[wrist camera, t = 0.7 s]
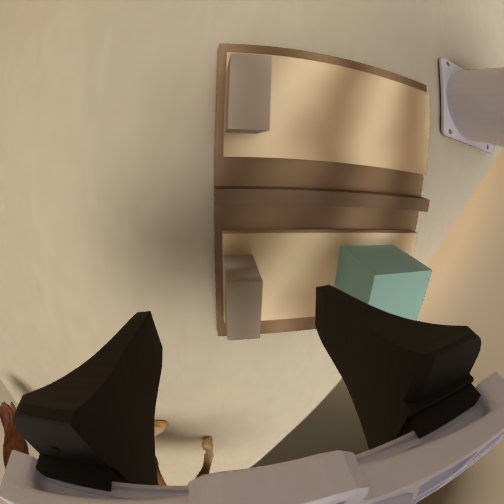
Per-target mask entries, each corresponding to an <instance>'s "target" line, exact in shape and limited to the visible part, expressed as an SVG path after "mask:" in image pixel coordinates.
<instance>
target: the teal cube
mask: <svg viewBox="0 0 504 504" xmlns="http://www.w3.org/2000/svg"><path fill="white" fill-rule="evenodd" d="M431 272H432V270H431V269H429V268H428V267H427V266H425V265H424V264H422V263H421V262H419V261H418V260H416V259H415V258H413V257H412V256H410V255H409V254H407V253H406V252H404V251H402V250H401V249H399V248H398V247H396V246H395V245H359V246H341V247H340V254H339V261H338V267H337V273H336V279H335V285H334V287H335V288H337V289H339V290H341V291H343V292H345V293H347V294H349V295H351V296H353V297H355V298H357V299H359V300H361V301H363V302H365V303H367V304H369V305H371V306H373V307H376V308H378V309H380V310H383V311H385V312H388V313H391V314H394V315H397V316H400V317H403V318H407V319H411V320H415V321H417V318H418V315H419V312H420V309H421V305H422V303H423V300H424V297H425V293H426V290H427V287H428V283H429V280H430V276H431Z"/></svg>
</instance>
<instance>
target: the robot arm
mask: <svg viewBox="0 0 504 504" xmlns="http://www.w3.org/2000/svg"><path fill="white" fill-rule="evenodd" d="M439 67H440V81H441V132H442V134H443V135H444V136H447V137H450V138H453V139H456V140H458V141H461V142H464V143H466V144H469V145H471V146H474V147H476V148H479V149H481V150H483V151H486V152H488V153H493V152H494V145H496V146H502V147H504V67H503V68H487V69H475V70H464V69H463V68H461V67H459V66H458V65H456V64H454V63H452V62H451V61H449V60H447V59H445V58H440V59H439ZM315 326H316V329H317V331H318V334H319V337H320V339H321V341H322V343H323V345H324V347H325V349H326V350H327V352H328V354H329V356H330V357H331V359H332V361H333V362H334V364H335V366H336V368H337V369H338V371H339V373H340V374H341V376H342V378H343V380H344V382H345V384H346V386H347V388H348V391H349V393H350V395H351V398H352V400H353V403H354V405H355V408H356V411H357V413H358V416H359V419H360V422H361V425H362V428H363V431H364V434H365V437H366V441H367V444H368V447H369V450H368V451H365V452H363V453H360V454H357V455H354V453H352V452H346V451H339V450H337V451H332V452H326V453H321V454H317V455H313V456H309V457H305V458H301V459H297V460H293V461H288V462H283V463H279V464H273V465H267V466H261V467H255V468H248V469H240V470H232V471H222V472H216V473H211V474H205V475H201V476H199V477H197V478H195V479H193V480H192V481H190V482H189V483H188V486H159V485H158V478H157V470H156V458H155V439H154V416H155V406H156V399H157V393H158V387H159V381H160V375H161V369H162V345H161V342H160V339H159V336H158V333H157V330H156V327H155V324H154V321H153V318H152V315H151V312H150V311H147V312H137V313H136V314H135V315H134V316H133V317H132V318H131V319H130V320H129V321H128V322H127V323H126V324H125V325H124V326H123V327H122V328H121V330H120V331H119V332H118V333H117V334H116V335H115V336H114V337H113V338H112V339H111V340H110V341H109V342H108V343H107V344H106V345H105V346H103V347H102V348H101V349H100V350H99V351H98V352H97V353H96V354H95V355H94V356H92V357H91V358H90V359H89V360H87V361H86V362H85V363H84V364H82V365H81V366H79V367H78V368H76V369H75V370H73V371H72V372H70V373H69V374H67V375H66V376H64V377H62V378H61V379H59V380H57V381H55V382H53V383H51V384H49V385H47V386H45V387H43V388H40V389H38V390H35V391H33V392H30V393H27V394H24V395H23V396H22V398H21V400H20V402H19V405H18V407H17V409H16V411H15V413H14V416H13V418H12V420H13V424H14V426H15V427H16V429H17V431H18V432H19V433H20V434H21V435H22V436H23V437H24V438H25V439H26V440H27V441H28V442H29V443H30V444H31V445H32V446H33V447H34V448H35V449H36V450H37V451H38V452H39V453H40V455H39V459H36V458H35V457H33V456H30V455H28V454H25V453H22V452H19V451H16V450H12V452H11V455H10V458H9V460H8V463H7V467H6V470H5V473H4V476H3V480H2V483H1V487H0V498H1V499H3V500H4V501H5V502H7V503H8V504H416V502H418V501H419V500H421V499H423V498H425V497H426V496H428V495H430V494H431V493H433V492H434V491H436V490H437V489H439V488H440V487H442V486H443V485H445V484H447V483H448V482H449V481H451V480H452V479H454V478H455V477H456V476H458V475H459V474H461V473H462V472H463V471H464V470H466V469H467V468H468V467H470V466H471V465H472V464H474V463H475V462H476V461H477V460H479V459H480V458H481V457H482V456H483V455H485V454H486V453H487V452H488V451H489V450H491V449H492V448H493V447H494V446H495V445H496V444H497V443H498V442H499V441H500V440H501V439H502V438H503V437H504V379H503V378H502V377H501V376H500V375H499V374H498V373H497V372H494V373H493V374H491V375H490V376H488V377H487V378H486V379H484V380H483V381H481V382H480V383H479V384H478V385H477V386H476V388H475V387H474V386H473V385H472V384H471V383H472V382H473V380H474V379H473V377H472V376H471V375H470V374H469V373H470V371H471V369H472V367H473V365H474V363H475V360H476V358H477V356H478V354H479V351H480V347H481V339H480V337H479V336H478V335H476V334H475V333H474V332H473V331H472V330H471V329H470V328H469V327H468V326H451V325H438V324H431V323H425V322H420V321H415V320H411V319H407V318H403V317H400V316H397V315H394V314H391V313H388V312H385V311H383V310H380V309H378V308H376V307H373V306H371V305H369V304H367V303H365V302H363V301H361V300H359V299H357V298H355V297H353V296H351V295H349V294H347V293H345V292H343V291H341V290H339V289H337V288H335V287H333V286H331V285H324V286H319V287H316V306H315Z"/></svg>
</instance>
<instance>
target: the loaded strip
mask: <svg viewBox="0 0 504 504" xmlns="http://www.w3.org/2000/svg"><path fill="white" fill-rule="evenodd" d="M417 234H418V233H416V232H414V231H412V230H325V229H307V230H222V261H223V315H224V323H226V330H227V339H228V340H239V339H255V338H260V327H261V321H264V320H279V319H291V318H303V317H313V316H315V306H316V287H319V286H324V285H331V286H333V287H334V285H335V279H336V273H337V267H338V261H339V254H340V247H341V246H359V245H395V246H396V247H398V248H399V249H401V250H402V251H404V252H406V253H407V254H409V255H410V256H412V257H413V253H414V249H415V244H416V239H417Z"/></svg>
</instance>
